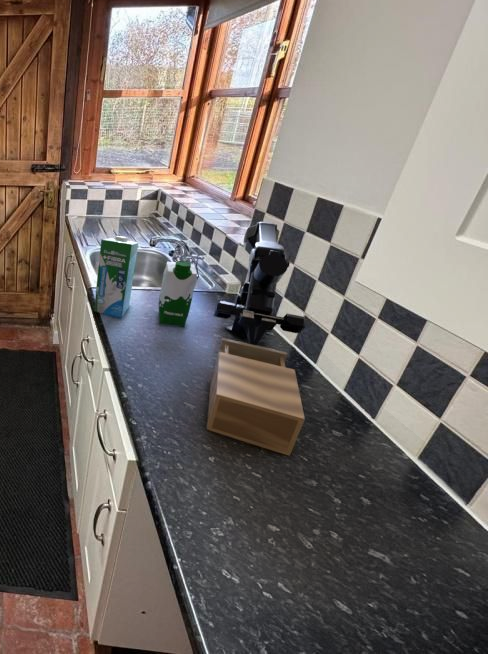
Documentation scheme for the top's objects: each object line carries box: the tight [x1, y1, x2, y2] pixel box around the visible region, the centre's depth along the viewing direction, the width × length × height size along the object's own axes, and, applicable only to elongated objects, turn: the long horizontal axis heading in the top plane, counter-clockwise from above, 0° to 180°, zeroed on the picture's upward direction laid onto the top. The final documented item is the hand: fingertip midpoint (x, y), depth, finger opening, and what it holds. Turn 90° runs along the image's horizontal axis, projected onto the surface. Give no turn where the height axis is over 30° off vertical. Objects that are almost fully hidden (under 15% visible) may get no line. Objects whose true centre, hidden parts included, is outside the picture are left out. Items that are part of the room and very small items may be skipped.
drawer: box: [215, 337, 288, 368], centre depth 94 cm, size 17×13×8 cm
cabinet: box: [206, 351, 306, 457], centre depth 87 cm, size 17×15×10 cm
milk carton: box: [93, 235, 139, 319], centre depth 128 cm, size 9×9×25 cm
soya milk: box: [158, 260, 198, 328], centre depth 122 cm, size 9×9×20 cm
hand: (252, 349), depth 99 cm, fingers closed, pressing on drawer
